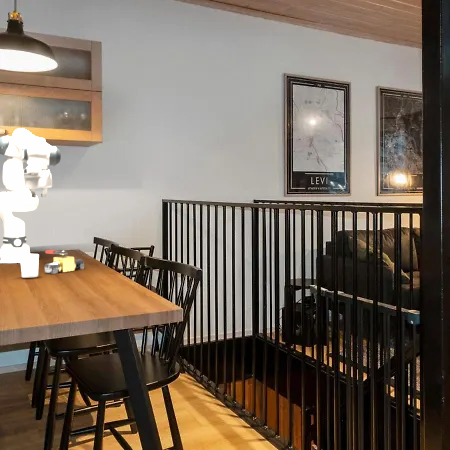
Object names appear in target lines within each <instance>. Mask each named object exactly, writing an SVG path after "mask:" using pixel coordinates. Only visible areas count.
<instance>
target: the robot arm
mask: <svg viewBox="0 0 450 450" xmlns="http://www.w3.org/2000/svg"><path fill="white" fill-rule="evenodd" d="M0 155H2V156H6V158H4V161H3V165H2V185H3V186H4V188H5V189H6V190H8V191H7V192H6V191H1V192H0V220H1V222H2V223H1V224H2V229H3V237H2V243H3V244H2V245H1V248H0V264H17V263H18V264H21V262H20V255H23V254H31V251H30V245H28V243H27V240H28V239H27V236H26V223H25V221H24V220H22V219H21V218H19V217H17V216H14V215H13V213H17V212H19V213H20V212H22V213H23V212H26V213H27V212H31V211H35V210H36V209H37V208H38V206H39V203H40V202H39V201H40V200H39V197H38V196H37V194H36V192H35V191H36V190H37V189H38V190H39V189H41V190H42V191H41V192H42V193H40V195H41V196H40V197H41V198H47V194H48V188H49V189H50V188H52V187H53V178H52V177H53V176H52V173H51V171H50V169H49V168H48V166H53V167H55V166H57V164H59V163H60V162H61V151H60V149H59V148H58V146H54V145H53V146H52V145H51V144H49V143H48V142H46V139H45V138H44V137H39V136H36V135H34V134H32V132H30V131H29V130H27V129H25V128H16V129H15V130H14V131H13V133H12V136H10V135H8V134H5V135H2V136H0ZM24 163H25V164H26V165H27V166H26V167H25V168H24Z"/></svg>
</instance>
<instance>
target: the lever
mask: <svg viewBox="0 0 450 450" xmlns="http://www.w3.org/2000/svg"><path fill="white" fill-rule="evenodd" d="M44 251H45V254H50V255H55V254H56V255H61V256H62V255H66V256H68V251H67V250H57V249H46V250H44Z"/></svg>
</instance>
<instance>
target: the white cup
mask: <svg viewBox="0 0 450 450" xmlns="http://www.w3.org/2000/svg"><path fill="white" fill-rule="evenodd" d="M39 258H40V254H38V253H30V254H23V255H20V270H21V278H24V279H25V278H26V279H29V278H37V277H39V264H40V263H39V261H40V260H39Z"/></svg>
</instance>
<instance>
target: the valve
mask: <svg viewBox="0 0 450 450" xmlns="http://www.w3.org/2000/svg"><path fill="white" fill-rule="evenodd" d="M52 258H53V262H50V263H46V264H44V273H45V274H49V275H57V274H60V273H68V272H73V271H74V272H75V271H76V270H84V269H85V262H84V259H82V258H78V259H75V256H69V255H61V256H54V257H52Z"/></svg>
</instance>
